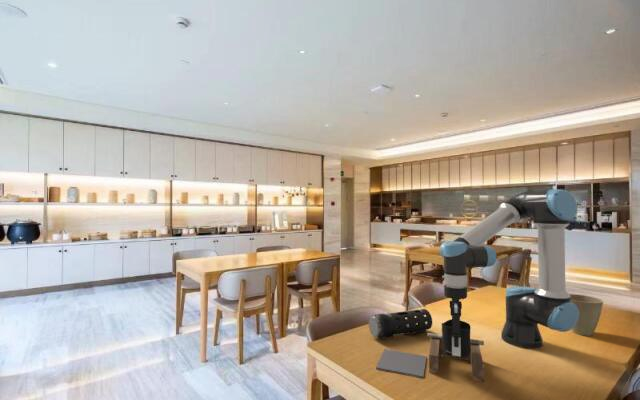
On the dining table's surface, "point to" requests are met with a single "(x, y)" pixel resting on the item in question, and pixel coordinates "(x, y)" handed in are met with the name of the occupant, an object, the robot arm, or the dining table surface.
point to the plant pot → (586, 313)
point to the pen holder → (448, 339)
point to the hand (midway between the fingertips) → (456, 349)
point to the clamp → (473, 356)
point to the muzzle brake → (400, 323)
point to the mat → (402, 363)
